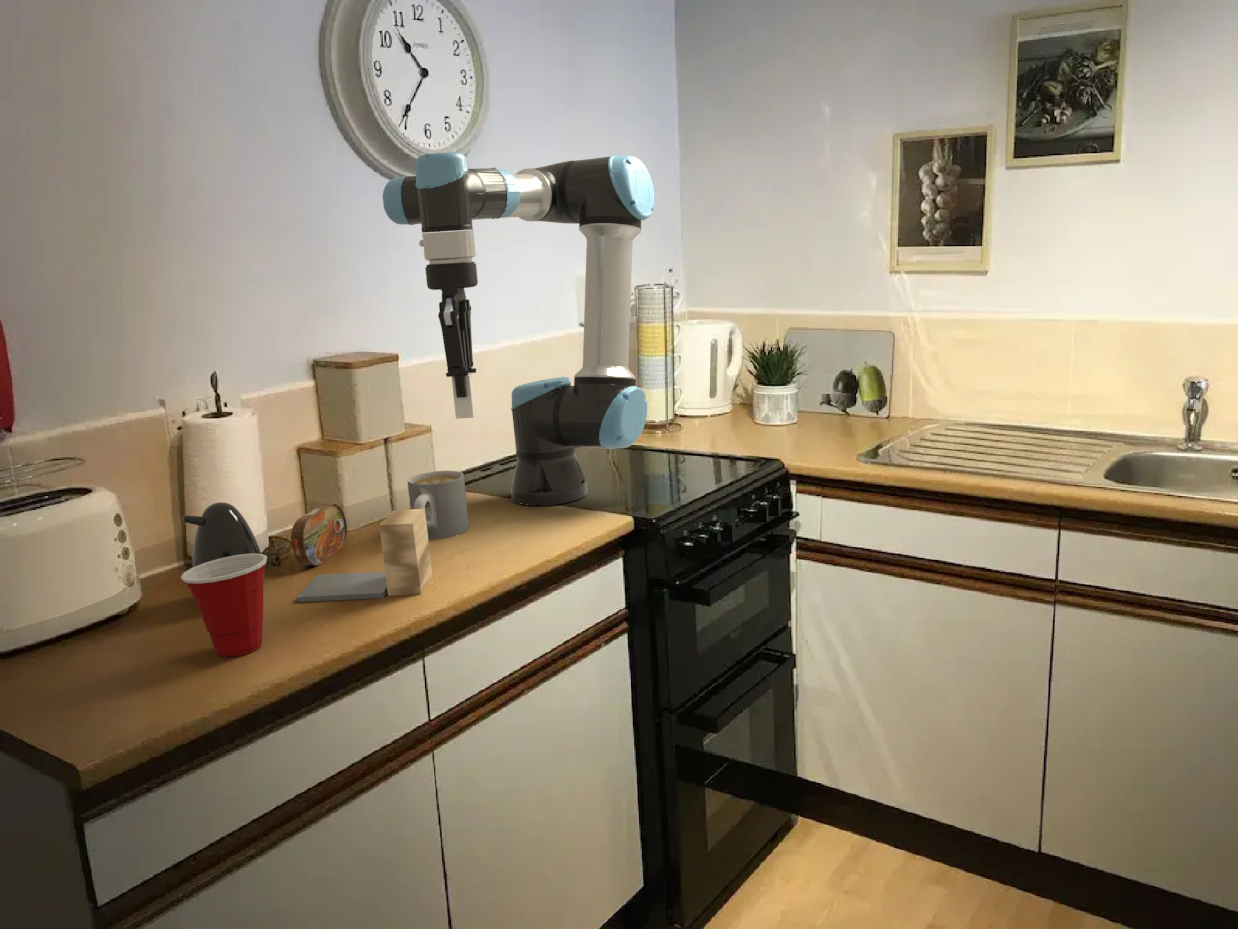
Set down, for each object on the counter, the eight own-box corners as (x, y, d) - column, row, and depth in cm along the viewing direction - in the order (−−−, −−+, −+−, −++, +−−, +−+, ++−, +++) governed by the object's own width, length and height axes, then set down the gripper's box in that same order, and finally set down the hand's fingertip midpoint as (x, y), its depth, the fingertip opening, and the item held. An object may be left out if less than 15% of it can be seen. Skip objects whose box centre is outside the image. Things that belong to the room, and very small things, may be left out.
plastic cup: (230, 630, 144) (217, 549, 142) (296, 635, 141) (284, 551, 138) (176, 662, 134) (160, 575, 132) (245, 668, 131) (231, 579, 128)
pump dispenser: (187, 600, 158) (170, 505, 155) (253, 582, 164) (239, 490, 161) (210, 616, 150) (192, 516, 147) (278, 596, 157) (264, 500, 153)
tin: (309, 572, 168) (302, 523, 166) (292, 572, 168) (284, 523, 166) (351, 544, 182) (344, 498, 180) (334, 544, 182) (328, 498, 181)
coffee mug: (435, 521, 192) (429, 469, 190) (479, 524, 188) (474, 471, 186) (390, 543, 181) (383, 487, 178) (436, 547, 176) (430, 490, 174)
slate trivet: (399, 575, 163) (398, 570, 163) (382, 598, 153) (382, 592, 153) (318, 579, 164) (318, 574, 163) (297, 602, 154) (296, 597, 154)
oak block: (432, 576, 162) (424, 508, 159) (421, 594, 154) (412, 523, 151) (401, 577, 162) (392, 510, 159) (388, 595, 154) (379, 525, 152)
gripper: (434, 261, 160) (450, 410, 165) (415, 264, 147) (432, 426, 152) (482, 258, 159) (496, 408, 165) (467, 261, 146) (482, 424, 152)
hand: (465, 416), depth 159 cm, fingers closed
